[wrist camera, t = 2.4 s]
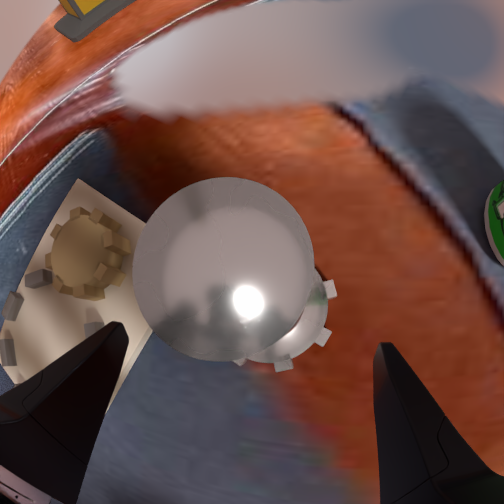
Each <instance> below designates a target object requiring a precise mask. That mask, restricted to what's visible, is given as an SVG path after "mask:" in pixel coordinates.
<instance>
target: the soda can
mask: <svg viewBox="0 0 504 504" xmlns="http://www.w3.org/2000/svg"><path fill="white" fill-rule="evenodd" d="M484 219H485V230H486V234H487V237H488V240H489V244H490V246H491V248H492V250H493V252H494V254H495V256H496V258H497V259H498V261H499V262H500V263H501V264H502V265H503V266H504V180H503V181H501V182H500V183H499V184H498V185H497V186H496V187H494V188H493V189H492V190H491V192H490V194H489V196H488V198H487V200H486V204H485V211H484Z"/></svg>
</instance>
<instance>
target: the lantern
mask: <svg viewBox="0 0 504 504" xmlns="http://www.w3.org/2000/svg"><path fill="white" fill-rule="evenodd" d="M134 1H136V0H59V2H60V3H61V5H62V6H63V7H64V9H65V10H66V12H67V13H68V14H66V15H65V16H64V17H63V18H61V19H60V20H59V21H58V22H57V23H56V24H55V26H54V28H55V29H56V30H57V31H58V32H60V33H61V34H63V35H64V36H66V37H67V38H68V39H70V40H71V41H73V42H78V41H80V40H81V39H83V38H84V37H86V36H87V35H88V34H89V33H91V32H92V31H93V30H94V29H96V28H97V27H98V26H100V25H101V24H102V23H104V22H105V21H106V20H108V19H109V18H111V17H112V16H113V15H115V14H116V13H118V12H119V11H121V10H122V9H124V8H125V7H127V6H128V5H130V4H131V3H133V2H134Z"/></svg>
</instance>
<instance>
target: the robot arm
mask: <svg viewBox="0 0 504 504" xmlns="http://www.w3.org/2000/svg"><path fill="white" fill-rule="evenodd" d="M128 345H129V337H128V334H127V332H126V330H125V327H124V325H123V323H121V322H117V321H111V322H110V323H108V324H107V325H105V326H104V327H102V328H101V329H99V330H98V331H96V332H95V333H94V334H92V335H91V336H89V337H88V338H86V339H85V340H83V341H82V342H81V343H79V344H78V345H76V346H75V347H73V348H72V349H71V350H69V351H68V352H66V353H65V354H63V355H62V356H61V357H59V358H58V359H56V360H55V361H53V362H52V363H51V364H49V365H48V366H46V367H45V368H44V369H42V370H41V371H39V372H38V373H36V374H35V375H33V376H32V377H31V378H29V379H28V380H26V381H24V382H23V383H21V384H20V385H18V386H16V387H14V388H13V389H11V390H9V391H8V392H6V393H4V394H3V395H1V396H0V504H50V502H51V500H52V497H53V498H54V499H56V500H58V501H60V502H62V503H64V504H76V502H77V499H78V495H79V492H80V489H81V485H82V482H83V479H84V476H85V472H86V469H87V465H88V463H89V460H90V457H91V453H92V450H93V448H94V445H95V442H96V439H97V436H98V433H99V430H100V427H101V424H102V422H103V419H104V416H105V413H106V411H107V408H108V405H109V403H110V400H111V397H112V395H113V392H114V389H115V387H116V384H117V382H118V379H119V376H120V373H121V369H122V366H123V362H124V358H125V355H126V351H127V348H128ZM373 387H374V394H373V398H374V414H375V424H376V434H377V446H378V460H379V477H380V504H504V476H501V475H499V474H497V473H495V472H494V471H492V470H491V469H490V468H489V467H488V466H487V465H486V464H485V463H484V462H483V461H482V460H481V459H480V457H479V456H478V455H477V454H476V453H475V452H474V451H473V449H472V448H471V447H470V446H469V445H468V444H467V442H466V441H465V440H464V439H463V438H462V436H461V435H460V434H459V433H458V431H457V430H456V429H455V427H454V426H453V425H452V423H451V422H450V420H449V419H448V418H447V416H445V414H444V412H443V411H442V409H441V408H440V407H439V405H438V404H437V402H436V401H435V400H434V398H433V397H432V395H431V394H430V393H429V391H428V390H427V389H426V387H425V386H424V385H423V383H422V382H421V380H420V379H419V378H418V376H417V375H416V374H415V372H414V371H413V370H412V368H411V367H410V366H409V364H408V363H407V362H406V360H405V359H404V358H403V357H402V355H401V354H400V353H399V351H398V350H397V349H396V347H395V346H394V345H393V344H392V343H391V342H381V343H379V345H378V348H377V351H376V354H375V356H374V361H373Z"/></svg>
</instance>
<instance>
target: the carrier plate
mask: <svg viewBox="0 0 504 504" xmlns="http://www.w3.org/2000/svg"><path fill="white" fill-rule="evenodd" d="M145 225H146V223H144V222H143V221H141V220H140V219H138V218H137V217H135V216H134V215H132V214H131V213H129V212H127V211H126V210H124V209H123V208H121V207H120V206H118V205H117V204H115V203H114V202H112V201H111V200H109V199H108V198H107V197H105V196H104V195H102V194H101V193H99V192H98V191H96V190H95V189H93V188H92V187H90V186H89V185H87V184H86V183H84V182H83V181H81V180H80V179H79V178H78V179H77V180H76V182H75V183H74V185H73V187H72V188H71V190H70V191H69V193H68V194H67V196H66V198H65V199H64V201H63V203H62V204H61V206H60V208H59V209H58V211H57V213H56V214H55V216H54V218H53V219H52V221H51V223H50V225H49V227H48V228H47V230H46V232H45V234H44V236H43V238H42V239H41V241H40V243H39V245H38V247H37V249H36V251H35V253H34V255H33V257H32V259H31V261H30V263H29V265H28V267H27V269H26V271H25V274H24V276H23V278H22V280H21V282H20V285H19V287H18V289H17V291H16V292H12V291H10V293H9V295H8V298H7V300H6V303H5V305H4V308H3V310H2V313H1V314H2V315H3V317H4V318H5V321H4V324H3V327H2V329H1V332H0V363H1V365H2V366H3V368H4V369H5V371H6V372H7V374H8V375H9V377H10V378H11V379H12V381H13V382H14V383H15V385H14V387H16V386H18V385H20V384H21V383H23V382H24V381H26V380H28V379H29V378H31V377H32V376H33V375H35V374H36V373H38V372H39V371H41V370H42V369H44V368H45V367H46V366H48V365H49V364H51V363H52V362H53V361H55V360H56V359H58V358H59V357H61V356H62V355H63V354H65V353H66V352H68V351H69V350H71V349H72V348H73V347H75V346H76V345H78V344H79V343H81V342H82V341H83V340H85V339H86V338H88V337H89V336H91V335H92V334H94V333H95V332H96V331H98V330H99V329H101V328H102V327H104V326H105V325H107V324H108V323H110V322H111V321H117V322H121V323H123V325H124V327H125V330H126V332H127V334H128V337H129V345H128V348H127V351H126V355H125V358H124V362H123V366H122V369H121V373H120V376H119V379H118V382H117V384H116V387H115V389H114V392H113V395H112V397H111V400H110V403H109V405H108V408H109V407H110V405H111V403H112V401H113V399H114V398H115V396H116V394H117V392H118V390H119V389H120V387H121V385H122V383H123V381H124V380H125V378H126V376H127V374H128V373H129V371H130V369H131V367H132V366H133V364H134V362H135V360H136V359H137V357H138V355H139V354H140V352H141V350H142V348H143V347H144V345H145V343H146V342H147V340H148V338H149V337H150V335H151V333H152V331H153V330H152V329H151V328H150V326H149V325H148V323H147V322H146V320H145V319H144V317H143V315H142V313H141V311H140V309H139V306H138V303H137V300H136V297H135V293H134V288H133V278H132V268H133V259H134V253H135V249H136V246H137V242H138V239H139V237H140V235H141V232H142V230H143V228H144V227H145ZM108 408H107V410H108ZM106 412H107V411H106ZM105 414H106V413H105Z"/></svg>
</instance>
